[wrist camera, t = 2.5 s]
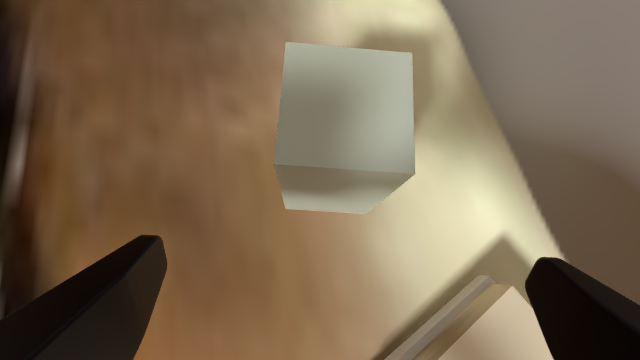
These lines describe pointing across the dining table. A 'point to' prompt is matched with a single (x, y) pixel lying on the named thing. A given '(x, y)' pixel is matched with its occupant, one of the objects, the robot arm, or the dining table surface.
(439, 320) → the base slab
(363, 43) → the dining table surface
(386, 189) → the sage block
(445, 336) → the birch slab
